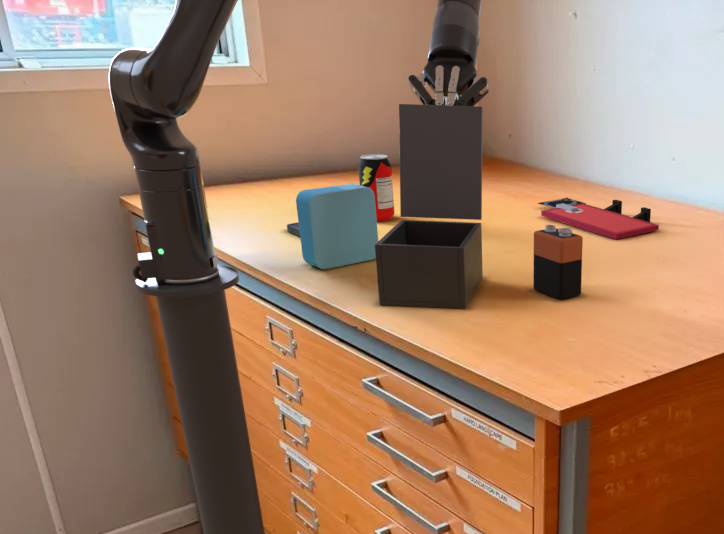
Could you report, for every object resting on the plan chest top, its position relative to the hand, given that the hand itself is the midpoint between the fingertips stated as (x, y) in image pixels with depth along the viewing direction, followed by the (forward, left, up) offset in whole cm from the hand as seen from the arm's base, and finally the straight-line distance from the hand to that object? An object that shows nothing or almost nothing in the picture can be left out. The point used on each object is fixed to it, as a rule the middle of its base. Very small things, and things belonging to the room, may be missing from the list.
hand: (442, 131), depth 134 cm
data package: (-15, +10, -22) cm, 28 cm away
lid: (-1, -3, -4) cm, 5 cm away
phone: (-14, +29, -21) cm, 39 cm away
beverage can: (-1, +39, -22) cm, 45 cm away
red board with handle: (+39, +23, -22) cm, 50 cm away
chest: (-6, -11, -21) cm, 25 cm away
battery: (+11, -19, -22) cm, 31 cm away
